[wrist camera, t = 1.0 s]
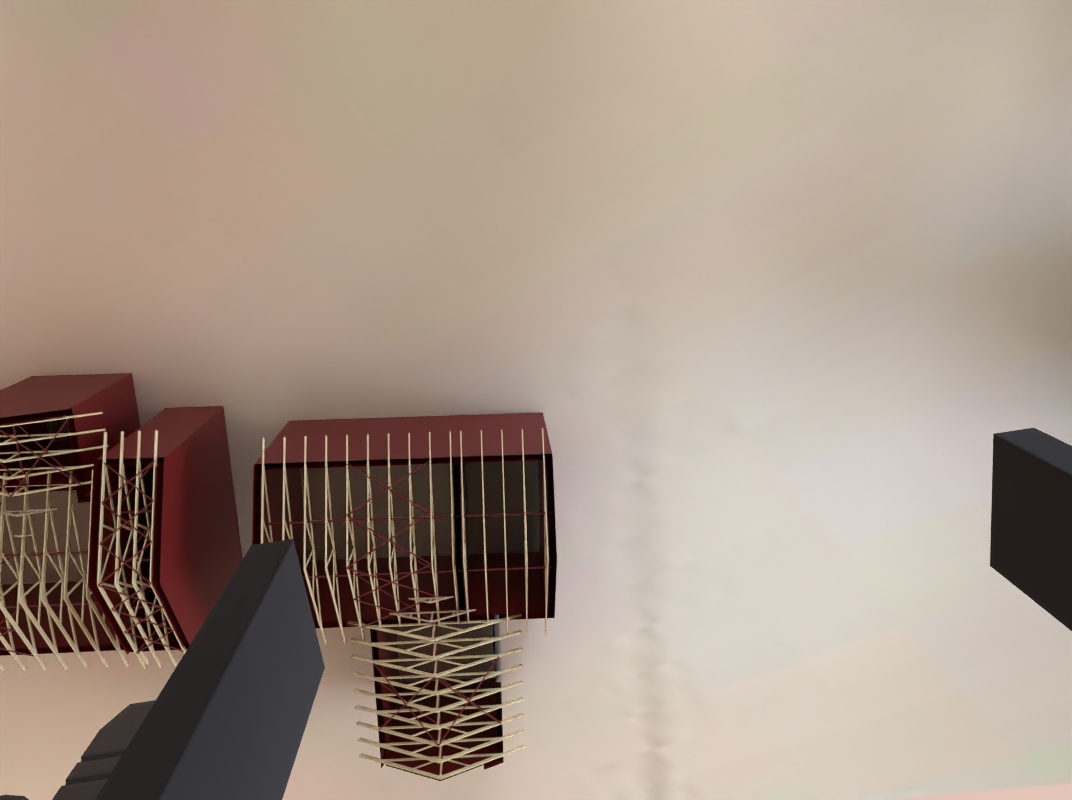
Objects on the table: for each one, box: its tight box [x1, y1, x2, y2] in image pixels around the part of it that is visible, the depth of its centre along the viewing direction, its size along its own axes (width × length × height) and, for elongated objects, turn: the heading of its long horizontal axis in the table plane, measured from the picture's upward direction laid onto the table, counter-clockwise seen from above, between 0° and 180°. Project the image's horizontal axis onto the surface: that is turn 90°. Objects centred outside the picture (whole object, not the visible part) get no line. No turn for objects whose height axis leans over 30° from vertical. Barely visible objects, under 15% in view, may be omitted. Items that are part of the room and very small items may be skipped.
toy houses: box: [0, 373, 557, 781], centre depth 39 cm, size 45×21×10 cm, turn 91°
